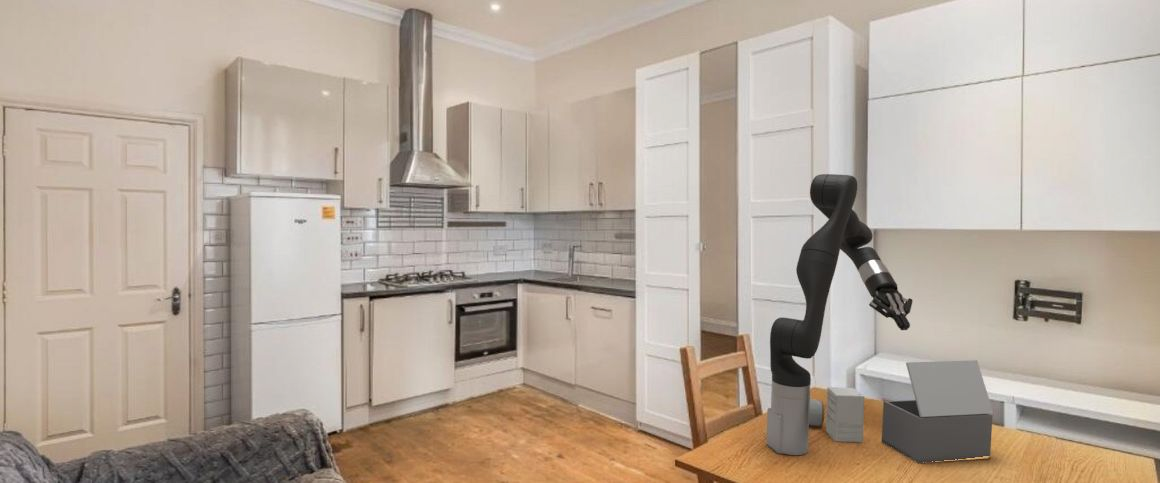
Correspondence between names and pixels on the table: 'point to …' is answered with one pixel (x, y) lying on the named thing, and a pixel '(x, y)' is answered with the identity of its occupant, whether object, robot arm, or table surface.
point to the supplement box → (845, 414)
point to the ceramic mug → (816, 413)
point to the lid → (949, 388)
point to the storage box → (935, 433)
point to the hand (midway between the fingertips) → (905, 328)
